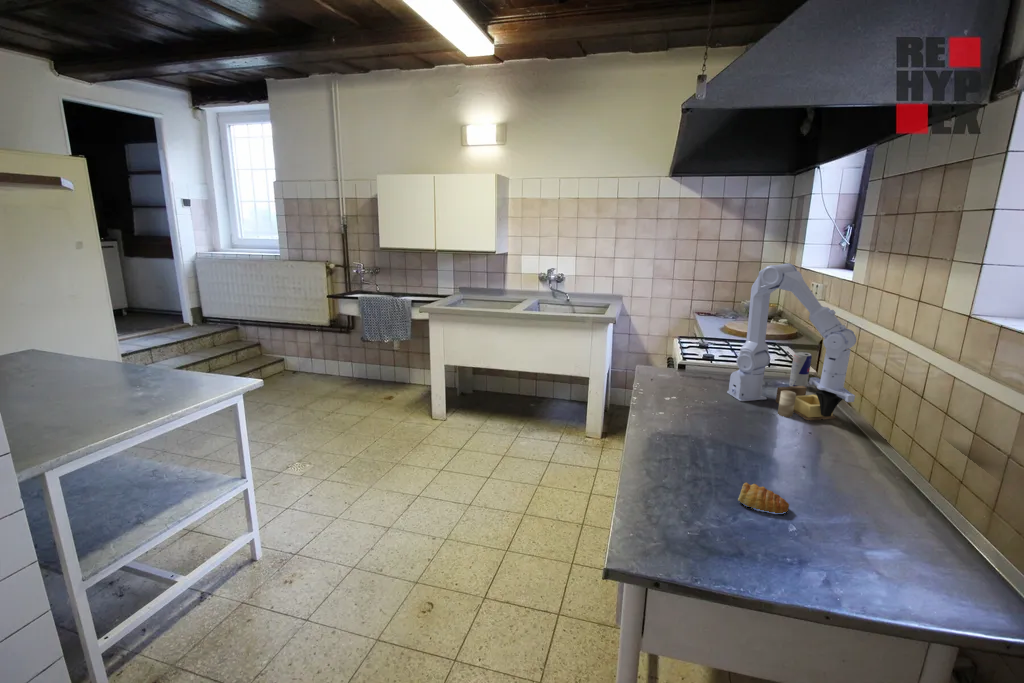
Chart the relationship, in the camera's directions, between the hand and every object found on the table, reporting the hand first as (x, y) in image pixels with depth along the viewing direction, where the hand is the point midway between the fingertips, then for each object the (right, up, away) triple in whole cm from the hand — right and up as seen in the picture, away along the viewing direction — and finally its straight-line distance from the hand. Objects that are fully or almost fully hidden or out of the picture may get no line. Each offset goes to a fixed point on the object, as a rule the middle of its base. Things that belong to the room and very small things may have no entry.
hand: (825, 415), depth 142 cm
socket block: (-1, 0, +6) cm, 6 cm away
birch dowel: (-9, 0, +5) cm, 10 cm away
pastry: (-39, -13, -38) cm, 56 cm away
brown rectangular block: (-1, 0, +8) cm, 9 cm away
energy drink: (+8, +6, +27) cm, 29 cm away
